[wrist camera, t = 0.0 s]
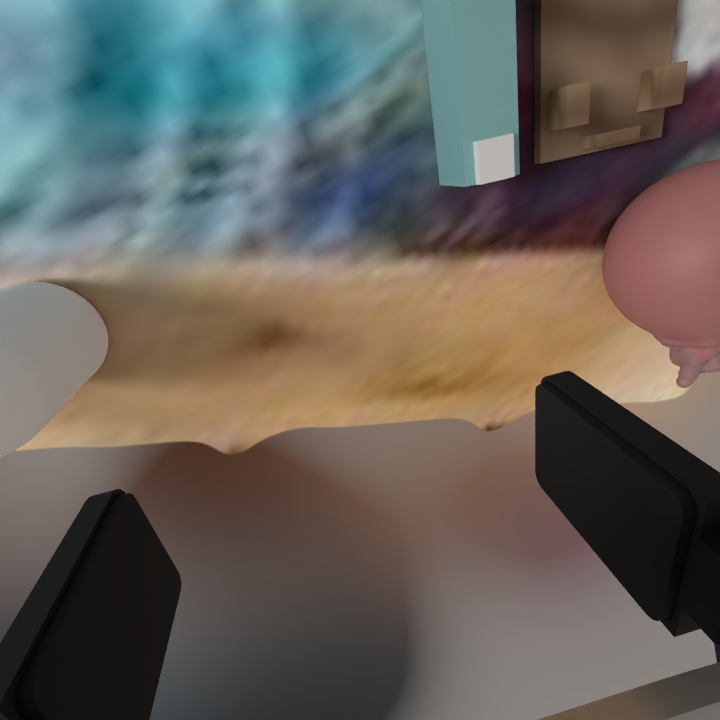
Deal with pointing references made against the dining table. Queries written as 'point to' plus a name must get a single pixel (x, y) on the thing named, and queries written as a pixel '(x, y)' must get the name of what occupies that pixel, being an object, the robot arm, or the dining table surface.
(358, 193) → the dining table surface
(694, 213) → the balloon
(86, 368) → the wine bottle
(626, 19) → the jig
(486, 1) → the teal notched block
